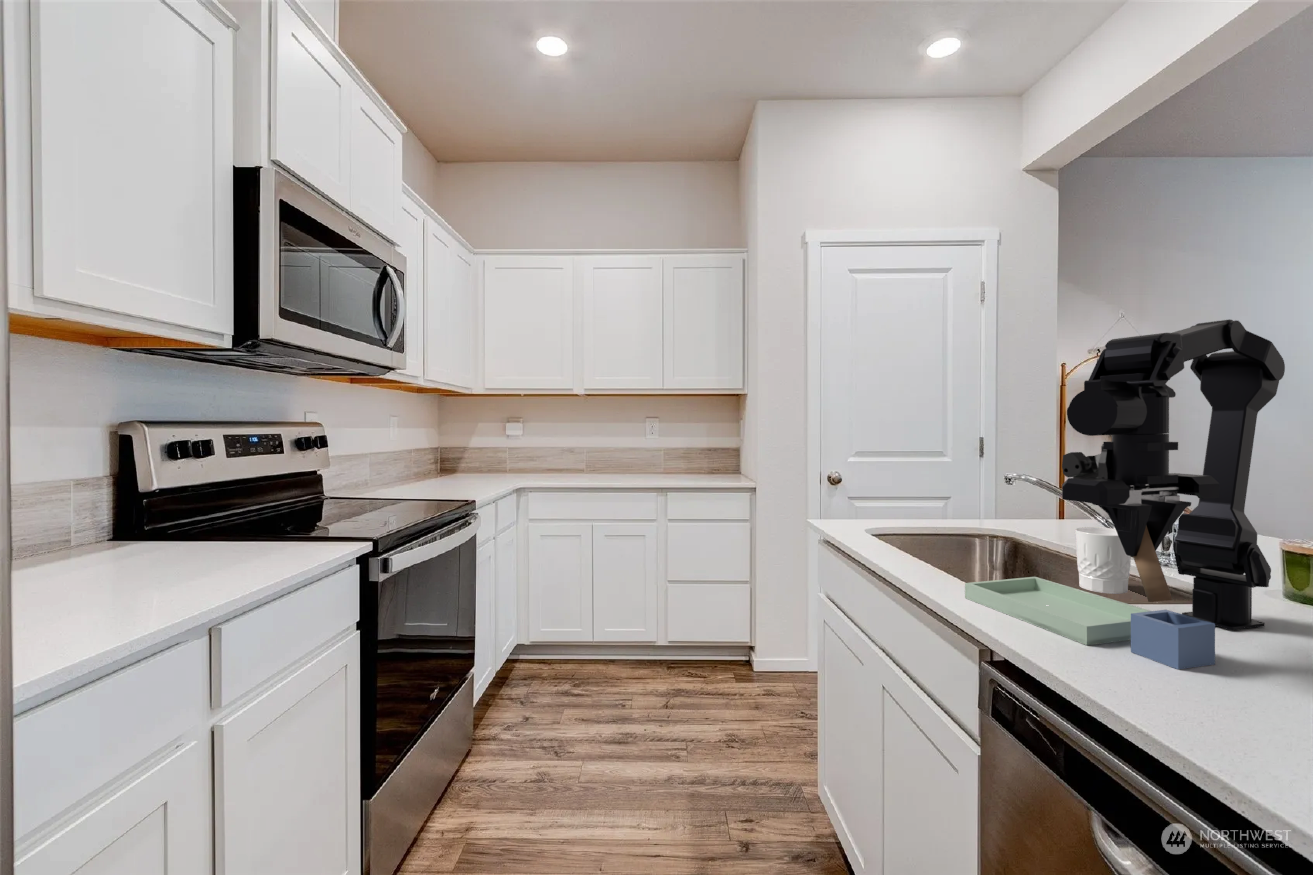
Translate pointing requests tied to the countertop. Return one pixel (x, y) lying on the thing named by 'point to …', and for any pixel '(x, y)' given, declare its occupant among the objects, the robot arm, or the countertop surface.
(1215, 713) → the countertop surface
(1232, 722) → the countertop surface
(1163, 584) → the walnut dowel
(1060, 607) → the sage tray
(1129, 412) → the robot arm
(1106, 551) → the white cup
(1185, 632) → the slate blue cup
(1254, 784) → the countertop surface
